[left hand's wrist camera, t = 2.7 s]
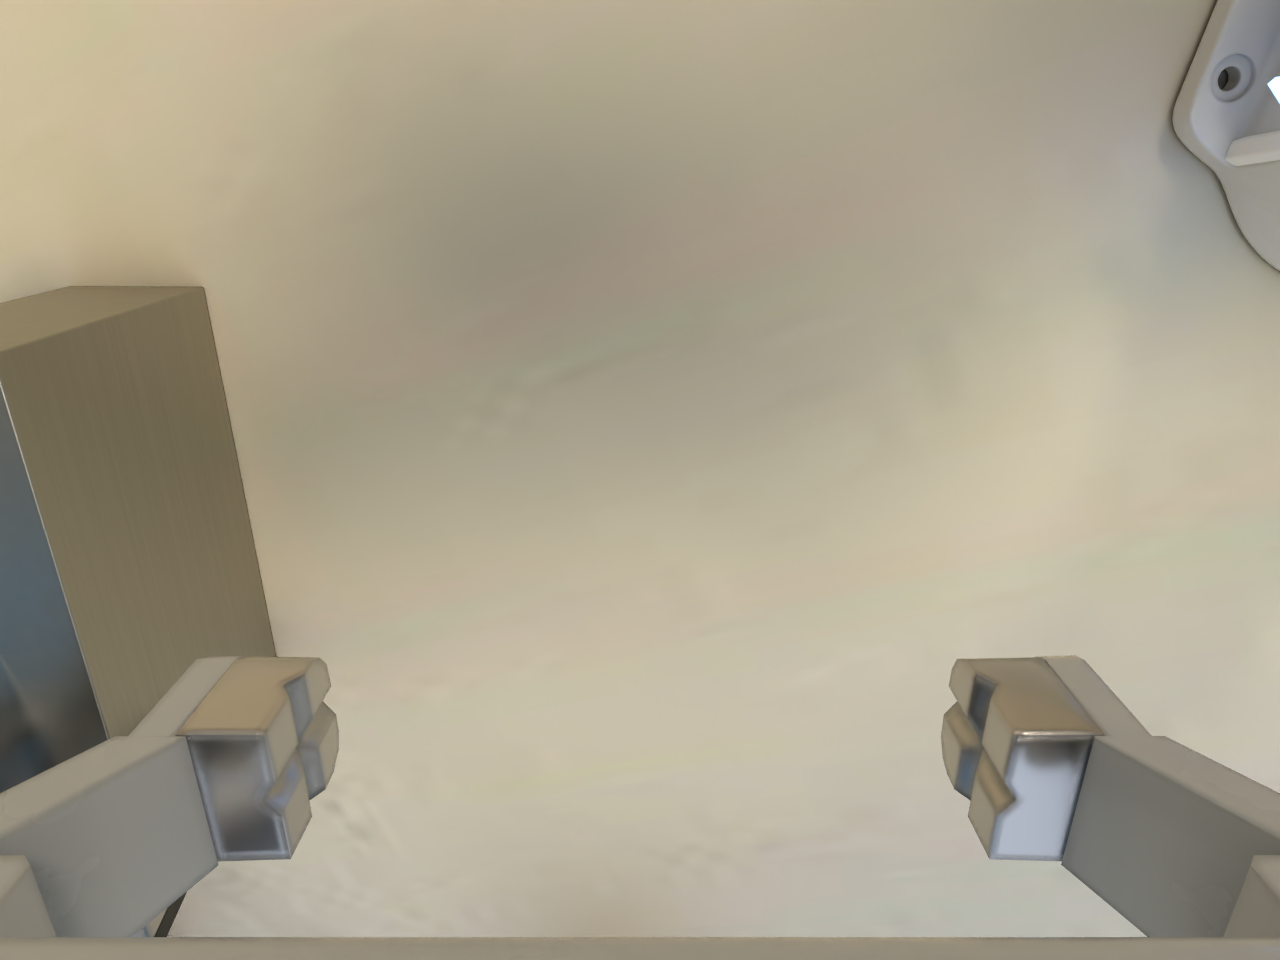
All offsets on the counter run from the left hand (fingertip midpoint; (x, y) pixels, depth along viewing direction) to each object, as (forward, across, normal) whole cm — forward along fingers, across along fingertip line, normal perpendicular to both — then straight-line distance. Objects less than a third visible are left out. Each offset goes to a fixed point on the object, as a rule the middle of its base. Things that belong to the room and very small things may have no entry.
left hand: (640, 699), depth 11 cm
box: (+28, +22, +10) cm, 37 cm away
